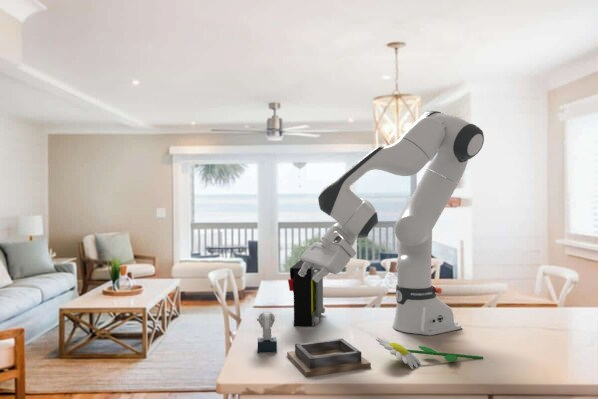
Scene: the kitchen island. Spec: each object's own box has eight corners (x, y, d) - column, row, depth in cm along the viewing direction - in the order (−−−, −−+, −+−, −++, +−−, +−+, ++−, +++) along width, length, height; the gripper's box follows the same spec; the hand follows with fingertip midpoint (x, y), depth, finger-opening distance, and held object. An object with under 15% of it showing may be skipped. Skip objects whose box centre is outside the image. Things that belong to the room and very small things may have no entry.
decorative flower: (470, 358, 140) (369, 349, 137) (473, 342, 140) (371, 332, 137) (492, 378, 127) (381, 368, 124) (495, 360, 127) (383, 350, 124)
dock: (345, 348, 143) (345, 336, 143) (370, 367, 128) (370, 353, 128) (287, 356, 137) (286, 343, 137) (306, 376, 122) (305, 362, 122)
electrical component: (318, 327, 165) (317, 268, 164) (288, 326, 167) (287, 268, 166) (325, 314, 182) (325, 260, 181) (298, 313, 184) (298, 260, 183)
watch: (276, 345, 147) (275, 308, 146) (277, 354, 139) (276, 315, 138) (257, 345, 146) (256, 309, 146) (257, 355, 138) (256, 316, 138)
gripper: (313, 233, 157) (286, 265, 154) (346, 239, 139) (316, 276, 135) (325, 246, 160) (298, 278, 156) (359, 254, 141) (330, 291, 137)
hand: (307, 278), depth 145 cm, fingers open, 8 cm apart
